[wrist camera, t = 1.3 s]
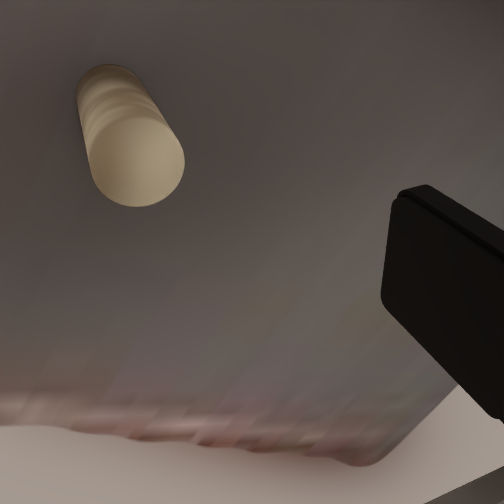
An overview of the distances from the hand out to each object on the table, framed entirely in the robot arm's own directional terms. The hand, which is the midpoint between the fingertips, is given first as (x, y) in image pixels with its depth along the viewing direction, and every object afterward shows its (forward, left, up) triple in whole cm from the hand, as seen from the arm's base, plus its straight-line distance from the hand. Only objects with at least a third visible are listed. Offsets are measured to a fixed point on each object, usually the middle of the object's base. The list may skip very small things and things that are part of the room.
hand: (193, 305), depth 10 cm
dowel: (-1, +2, -22) cm, 22 cm away
